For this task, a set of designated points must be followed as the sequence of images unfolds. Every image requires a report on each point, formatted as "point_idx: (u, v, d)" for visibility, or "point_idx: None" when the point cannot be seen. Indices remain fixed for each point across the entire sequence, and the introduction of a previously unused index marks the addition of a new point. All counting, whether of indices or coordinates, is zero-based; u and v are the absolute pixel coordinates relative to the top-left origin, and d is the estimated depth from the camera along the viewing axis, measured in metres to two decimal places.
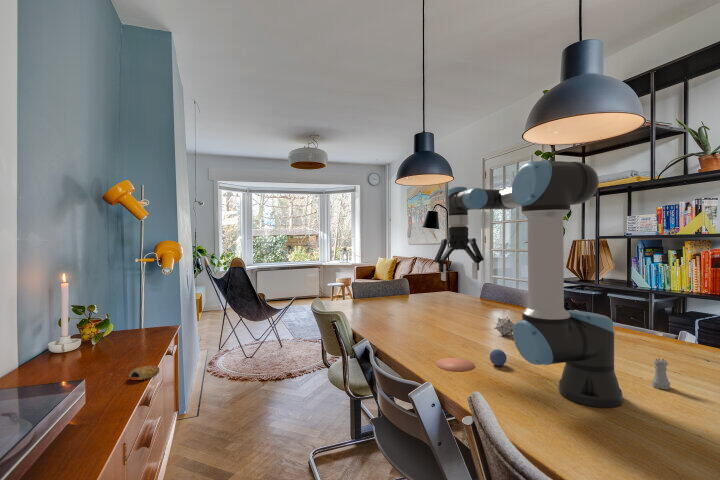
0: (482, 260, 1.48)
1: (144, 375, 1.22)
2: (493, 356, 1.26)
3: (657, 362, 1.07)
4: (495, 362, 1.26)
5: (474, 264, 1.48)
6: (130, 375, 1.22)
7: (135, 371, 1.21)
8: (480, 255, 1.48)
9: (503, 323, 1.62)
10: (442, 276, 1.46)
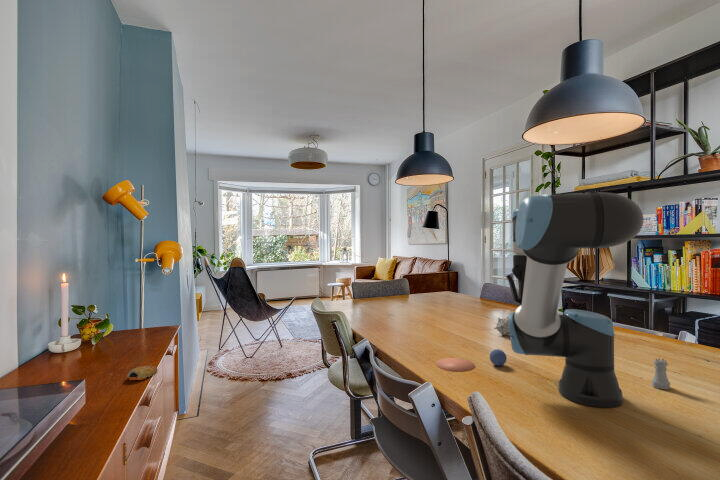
0: None
1: (143, 375, 1.22)
2: (493, 356, 1.26)
3: (657, 362, 1.07)
4: (495, 362, 1.26)
5: None
6: (128, 375, 1.22)
7: (133, 371, 1.21)
8: None
9: (503, 323, 1.62)
10: None
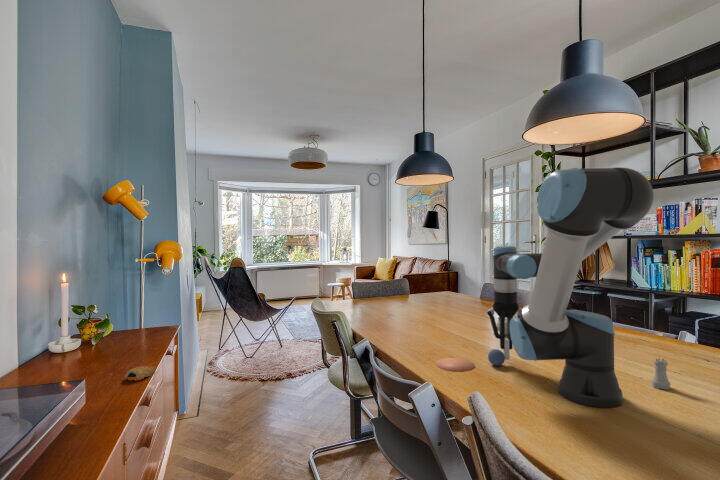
0: None
1: (141, 375, 1.22)
2: (491, 356, 1.26)
3: (657, 362, 1.07)
4: (494, 362, 1.26)
5: None
6: (126, 375, 1.22)
7: (132, 371, 1.21)
8: None
9: None
10: (503, 353, 1.29)
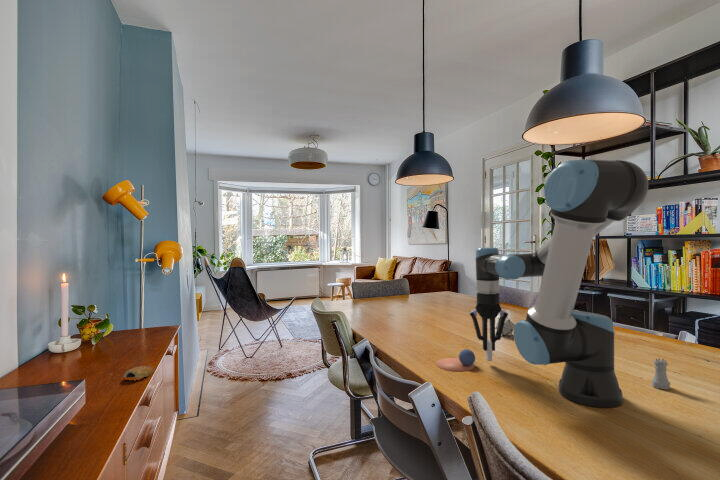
0: (498, 339, 1.27)
1: (140, 375, 1.22)
2: None
3: (657, 362, 1.07)
4: (473, 357, 1.26)
5: None
6: (125, 375, 1.22)
7: (131, 371, 1.21)
8: (499, 333, 1.27)
9: None
10: (486, 355, 1.29)
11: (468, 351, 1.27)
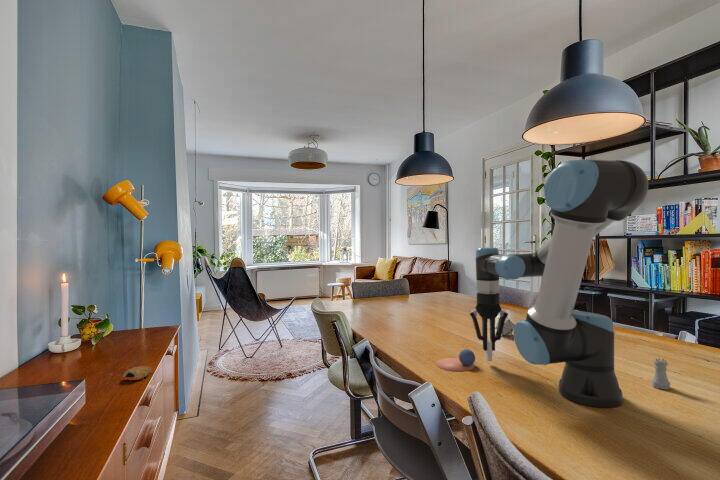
0: (498, 339, 1.27)
1: (139, 375, 1.22)
2: None
3: (657, 362, 1.07)
4: (473, 357, 1.26)
5: None
6: (124, 376, 1.22)
7: (130, 371, 1.21)
8: (499, 333, 1.27)
9: None
10: (486, 355, 1.29)
11: (468, 351, 1.27)
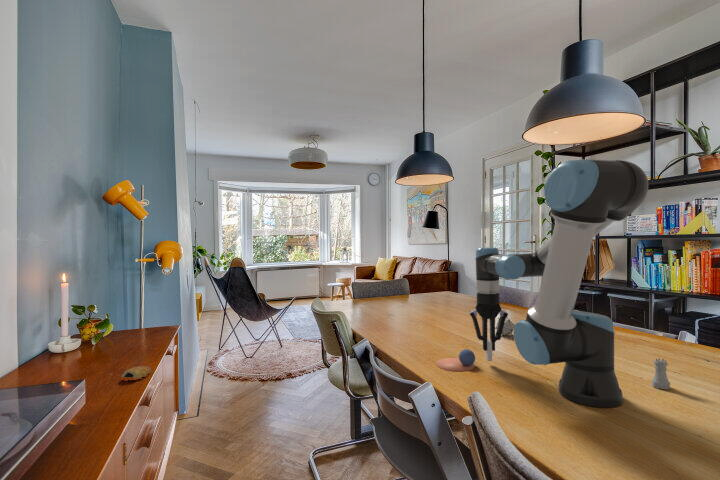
0: (498, 339, 1.27)
1: (138, 375, 1.22)
2: None
3: (657, 362, 1.07)
4: (473, 357, 1.26)
5: None
6: (123, 376, 1.21)
7: (129, 371, 1.21)
8: (500, 333, 1.27)
9: None
10: (486, 355, 1.29)
11: (468, 351, 1.27)
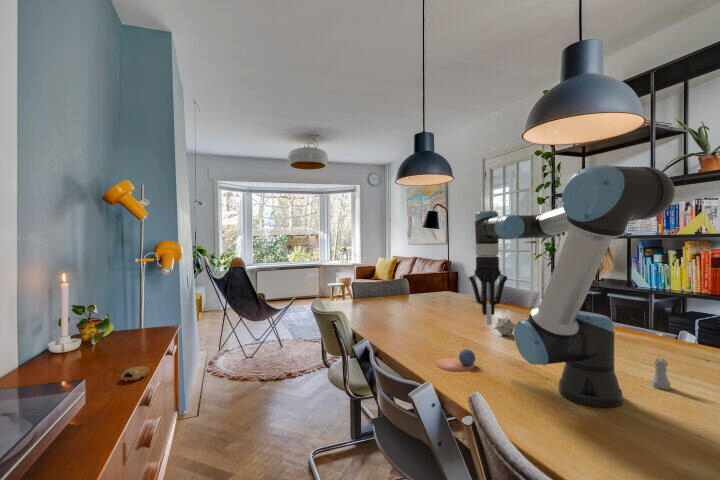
0: (497, 303, 1.27)
1: (138, 375, 1.22)
2: None
3: (657, 362, 1.07)
4: (473, 357, 1.26)
5: None
6: (122, 376, 1.21)
7: (128, 372, 1.21)
8: (499, 297, 1.26)
9: (503, 323, 1.62)
10: (486, 319, 1.28)
11: (468, 351, 1.27)
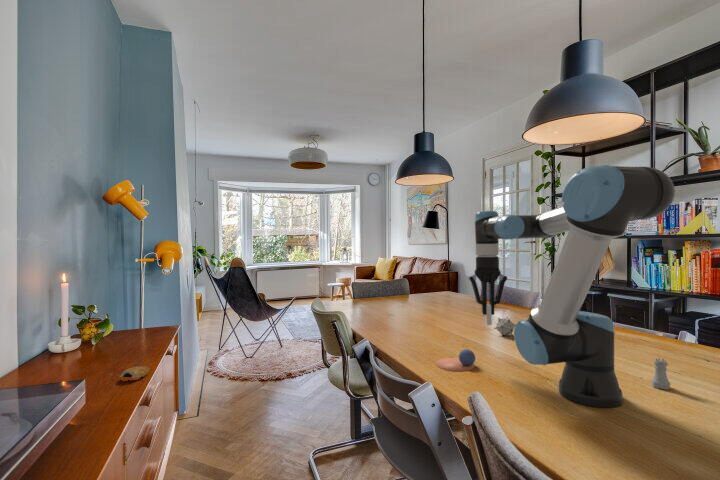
0: (497, 303, 1.27)
1: (137, 375, 1.22)
2: None
3: (657, 362, 1.07)
4: (473, 357, 1.26)
5: None
6: (122, 376, 1.21)
7: (127, 372, 1.21)
8: (499, 297, 1.26)
9: (503, 323, 1.62)
10: (486, 319, 1.28)
11: (468, 351, 1.27)
